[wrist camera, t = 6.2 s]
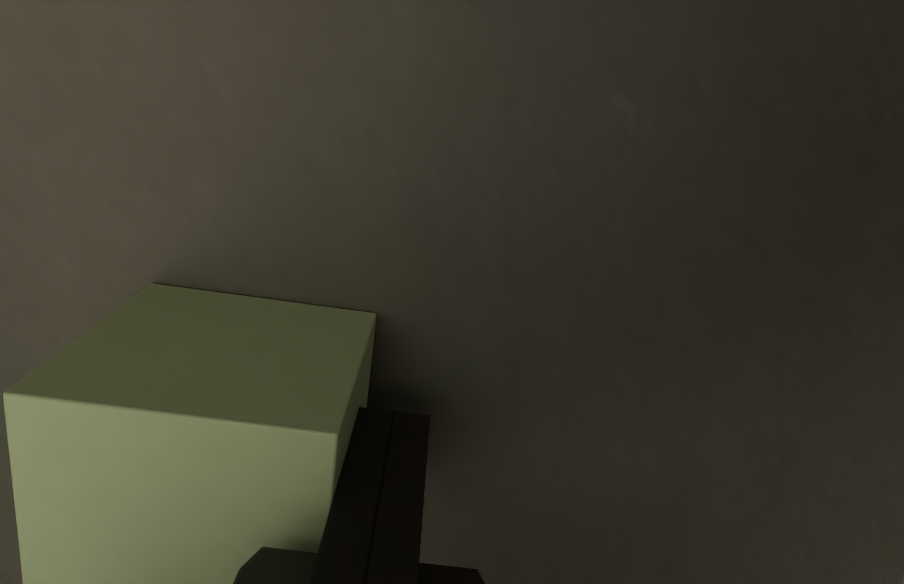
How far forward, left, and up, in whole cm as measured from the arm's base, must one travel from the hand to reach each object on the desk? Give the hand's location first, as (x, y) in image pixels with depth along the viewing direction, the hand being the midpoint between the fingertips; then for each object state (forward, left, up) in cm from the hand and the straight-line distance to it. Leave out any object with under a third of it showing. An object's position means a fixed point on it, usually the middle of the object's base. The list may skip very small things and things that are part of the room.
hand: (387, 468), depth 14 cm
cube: (+3, 0, -2) cm, 4 cm away
